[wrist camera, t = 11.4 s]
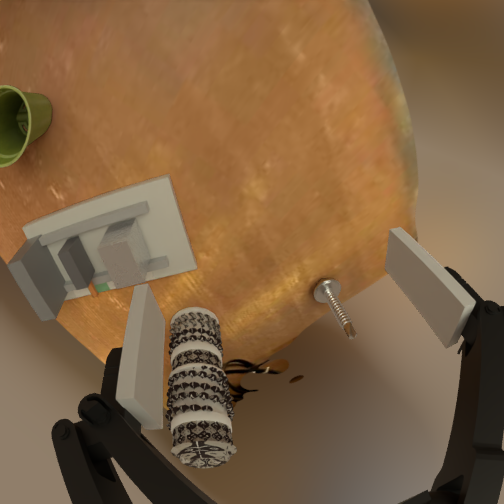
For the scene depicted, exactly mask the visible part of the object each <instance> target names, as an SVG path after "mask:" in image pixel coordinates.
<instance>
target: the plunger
mask: <svg viewBox="0 0 504 504" xmlns="http://www.w3.org/2000/svg"><path fill="white" fill-rule="evenodd" d="M97 250H98V252H99V254H100V257H101V259H102V261H103V263H104V265H105V267H106V269H107V271H108V273H109V275H110V277H111V279H112V281H113V283H114V285H115V287H116V289H119V288H123V287H127V286H132V285H136V284H140V283H144V282H145V280H146V275H147V270H148V266H149V261H150V257H151V256H150V254H149V251H148V249H147V246H146V244H145V241H144V239H143V236H142V233H141V231H140V228H139V226H138V223H137V220H136V218H134V219H131V220H127V221H124V222H121V223H117V224H114V225H111V226H109V227H108V229H107V231H106V233H105V234H104V236H103V238H102V240H101V242H100V244H99V246H98V248H97Z"/></svg>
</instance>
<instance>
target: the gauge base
mask: <svg viewBox="0 0 504 504" xmlns="http://www.w3.org/2000/svg"><path fill="white" fill-rule="evenodd" d="M134 218H136V220H137V223H138V226H139V228H140V231H141V233H142V236H143V239H144V241H145V244H146V246H147V249H148V251H149V254H150V256H151V257H150V261H149V266H148V270H147V275H146V280H145V281H149V280H154V279H158V278H162V277H166V276H170V275H174V274H179V273H183V272H187V271H191V270H195V269H197V262H196V259H195V256H194V252H193V249H192V246H191V243H190V240H189V237H188V234H187V231H186V228H185V224H184V221H183V218H182V215H181V211H180V208H179V205H178V202H177V198H176V195H175V191H174V188H173V185H172V181H171V178H170V174H166V175H162V176H159V177H155V178H152V179H149V180H145V181H142V182H139V183H135V184H132V185H129V186H126V187H123V188H120V189H117V190H114V191H111V192H108V193H105V194H102V195H99V196H96V197H93V198H90V199H87V200H85V201H82V202H79V203H76V204H74V205H71V206H68V207H66V208H63V209H61V210H58V211H56V212H53V213H50V214H48V215H46V216H43V217H41V218H38V219H36V220H33V221H31V222H29V223H27V224H26V225H25V226H24V227H23V231H24V233H25V235H26V237H27V239H28V240H27V241H26V242H25V243H24V244H23V246H22V247H21V248H20V249H19V250H18V252H17V253H16V254H15V255H14V257H13V258H12V259H11V260H10V262H9V263H8V264H7V266H8V268H9V270H10V272H11V273H12V275H13V277H14V278H15V280H16V282H17V284H18V285H19V287H20V289H21V290H22V292H23V293H24V295H25V297H26V298H27V300H28V301H29V303H30V304H31V306H32V307H33V309H34V310H35V311H36V313H37V315H38V316H39V318H40V319H41V321H46V320H51V319H56V318H57V315H58V313H59V311H60V309H61V306H62V304H63V302H64V301H65V300H70V299H74V298H78V297H82V296H87V295H91V292H90V291H89V289H88V288H84V289H80V290H76V288H75V286H74V284H73V283H72V281H71V279H70V277H69V275H68V274H67V272H66V270H65V268H64V266H63V264H62V262H61V261H60V259H59V257H58V255H57V254H58V252H59V251H60V249H61V248H62V247H63V245H64V244H65V242H66V241H67V239H70V238H73V237H76V236H79V238H80V241H81V243H82V245H83V247H84V249H85V251H86V253H87V255H88V257H89V259H90V261H91V263H92V265H93V267H94V269H95V273H94V275H93V277H92V279H91V281H92V283H93V285H94V287H95V288H96V290H97V292H98V293H99V292H103V291H108V290H112V289H116V287H115V285H114V283H113V281H112V279H111V277H110V275H109V273H108V271H107V269H106V267H105V265H104V263H103V261H102V259H101V257H100V254H99V252H98V250H97V248H98V246H99V244H100V242H101V240H102V238H103V236H104V234H105V233H106V231H107V229H108V227H109V226H111V225H114V224H117V223H121V222H124V221H127V220H131V219H134Z"/></svg>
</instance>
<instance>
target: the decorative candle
mask: <svg viewBox="0 0 504 504" xmlns="http://www.w3.org/2000/svg"><path fill="white" fill-rule="evenodd" d="M170 325H171V329H170V332H171V333H172V334H173V335H171V336H169V338H170V339H171V343H170V344H169V347H170V349H171V350H170V351H169V355H170V356H171V357H170V359H171V366H172V372H171V374H170V376H169V382H168V386H170V388H169V389H168V392H167V396H168V397H169V399H168V400H167V406H168V407H169V409H170V410H168V411H167V414H166V418H167V419H168V421H169V422H170V423H169V424H167V427H170V428H169V430H171V432H172V434H173V449H172V450H171V453H172V454H173V455H174V456H176V457H178V458H179V459H180V461H181V462H182V463H183V464H185V465H187V466H190V467H195V468H212V467H217V466H220V465H223V464H225V463H226V462H227V461H228V460H229V459H230V457H231V456H232V455H233V454H234V453H235V452H236V451H237V449H236V447H235V446H234V445H233V442H232V436H231V433H232V426H231V421H232V419H233V418H232V417H233V416H234V412H233V411H232V410H233V404H232V403H231V401H232V398H231V397H230V396H229V395H230V392H229V390H228V389H229V386H228V383H226V382H227V381H228V378H227V377H226V374H225V373H224V372H223V371H222V357H223V353H222V351H223V348H222V346H221V344H222V341H221V332H220V325H219V320H218V318H217V317H216V315H215V314H214V313H213V312H211V311H209V310H208V309H205V308H201V307H187V308H185V309H182V310H179V311H178V312H177V313H176V314H175V315H174V316H173V317H172V320H171V323H170ZM172 394H173V395H172ZM172 403H173V405H172ZM172 413H173V417H172ZM227 414H229V416H227Z"/></svg>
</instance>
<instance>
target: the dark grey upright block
mask: <svg viewBox="0 0 504 504" xmlns="http://www.w3.org/2000/svg"><path fill="white" fill-rule="evenodd" d="M57 255H58V257H59V259H60V261H61V262H62V264H63V266H64V268H65V270H66V272H67V274H68V275H69V277H70V279H71V281H72V283H73V284H74V286H75V288H76V290H80V289H84V288H88V289H89V291H90V292H91V294H92V296H93V297H97V296H98V292H97V290H96V288H95V287H94V285H93V283H92V281H91V279H92V277H93V275H94V273H95V269H94V267H93V265H92V263H91V261H90V259H89V257H88V255H87V253H86V251H85V249H84V247H83V245H82V243H81V241H80V238H79V236H76V237H73V238H70V239H67V241H66V242H65V244H64V245H63V247H62V248H61V249H60V251H59V252H58V254H57Z"/></svg>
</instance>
